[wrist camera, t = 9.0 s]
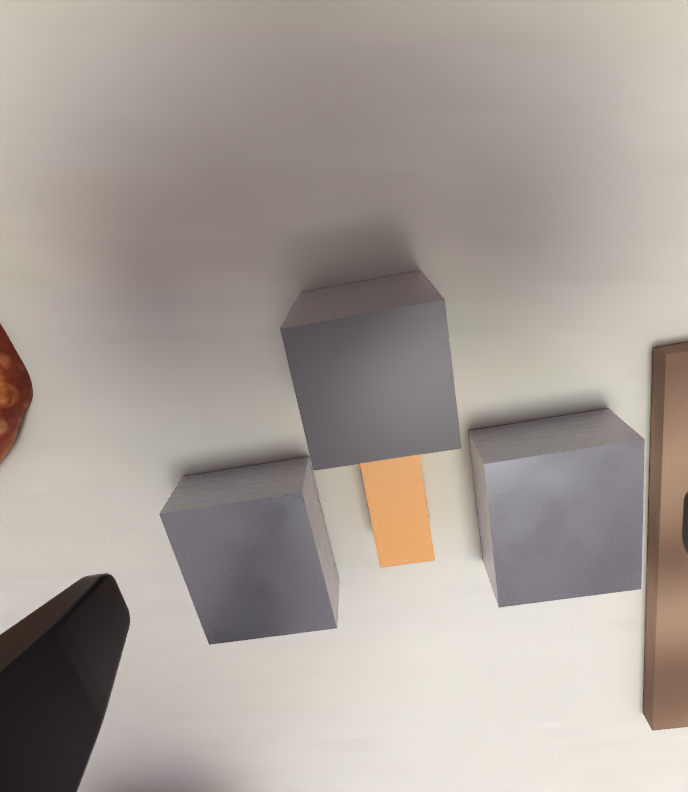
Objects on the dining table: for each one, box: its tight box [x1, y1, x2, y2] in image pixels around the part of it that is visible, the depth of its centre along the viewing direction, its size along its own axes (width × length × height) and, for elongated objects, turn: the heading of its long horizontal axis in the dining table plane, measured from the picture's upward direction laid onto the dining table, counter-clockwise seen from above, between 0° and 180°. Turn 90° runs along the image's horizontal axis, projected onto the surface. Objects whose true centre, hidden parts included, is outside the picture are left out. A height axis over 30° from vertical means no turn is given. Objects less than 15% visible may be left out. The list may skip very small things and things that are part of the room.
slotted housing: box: [160, 408, 644, 644], centre depth 19 cm, size 6×16×2 cm, turn 101°
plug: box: [280, 270, 461, 568], centre depth 16 cm, size 10×4×5 cm, turn 11°
